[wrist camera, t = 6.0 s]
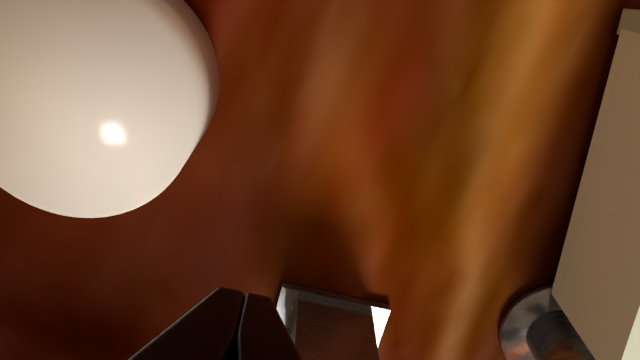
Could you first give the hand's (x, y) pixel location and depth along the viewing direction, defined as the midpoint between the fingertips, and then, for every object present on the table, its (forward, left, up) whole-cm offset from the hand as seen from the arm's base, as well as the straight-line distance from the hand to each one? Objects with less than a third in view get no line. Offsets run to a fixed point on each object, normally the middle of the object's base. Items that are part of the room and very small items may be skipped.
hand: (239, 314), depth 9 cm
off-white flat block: (+1, -11, -11) cm, 16 cm away
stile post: (-8, -4, -12) cm, 15 cm away
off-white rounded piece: (0, +6, -12) cm, 13 cm away
